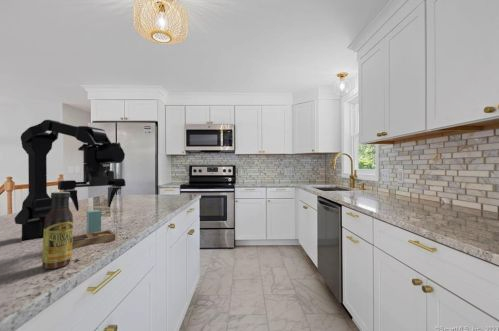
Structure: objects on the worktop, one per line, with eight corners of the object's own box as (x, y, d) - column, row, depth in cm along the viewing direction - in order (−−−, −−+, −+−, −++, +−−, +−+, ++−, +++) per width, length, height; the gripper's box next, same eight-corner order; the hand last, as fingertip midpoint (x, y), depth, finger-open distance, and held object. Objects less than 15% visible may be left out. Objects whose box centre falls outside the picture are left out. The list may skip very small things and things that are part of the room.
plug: (88, 236, 88) (88, 212, 88) (86, 233, 90) (86, 210, 90) (100, 234, 90) (101, 211, 90) (98, 231, 93) (98, 209, 93)
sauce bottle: (46, 272, 58) (47, 194, 58) (37, 267, 62) (38, 192, 62) (77, 263, 64) (77, 191, 64) (67, 258, 67) (68, 190, 67)
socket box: (65, 250, 73) (66, 241, 73) (62, 244, 79) (63, 236, 79) (115, 241, 83) (115, 233, 83) (109, 236, 89) (109, 228, 89)
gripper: (62, 162, 68) (63, 216, 67) (130, 163, 81) (131, 207, 81) (57, 163, 75) (57, 211, 75) (120, 163, 89) (120, 204, 89)
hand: (93, 208), depth 80 cm, fingers open, 9 cm apart
